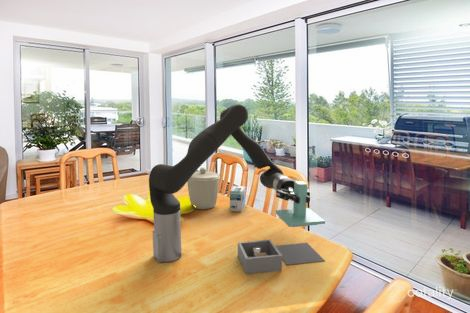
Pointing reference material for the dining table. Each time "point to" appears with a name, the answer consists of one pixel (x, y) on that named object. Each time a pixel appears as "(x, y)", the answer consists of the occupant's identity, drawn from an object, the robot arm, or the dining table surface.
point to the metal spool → (256, 250)
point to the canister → (203, 189)
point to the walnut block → (260, 254)
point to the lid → (300, 210)
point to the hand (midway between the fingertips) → (303, 200)
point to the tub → (259, 263)
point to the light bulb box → (237, 198)
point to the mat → (298, 254)
